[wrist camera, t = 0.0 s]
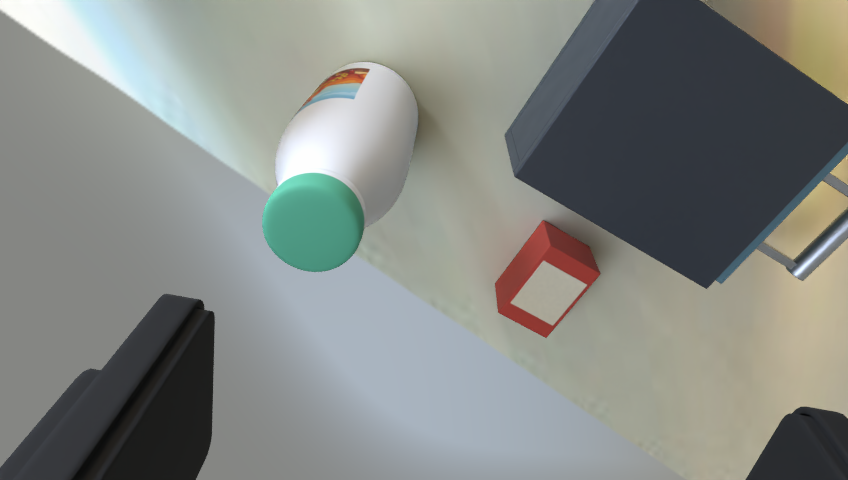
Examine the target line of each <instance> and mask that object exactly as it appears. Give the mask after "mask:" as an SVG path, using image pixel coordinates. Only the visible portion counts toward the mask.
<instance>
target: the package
mask: <svg viewBox="0 0 848 480" xmlns="http://www.w3.org/2000/svg"><path fill="white" fill-rule="evenodd" d="M600 274H601V273H600V271H599V269H598V266H597V264H596V262H595V259H594V257H593V254H592V252H591V250H590V247H589V246H587V245H585V244H584V243H582V242H580V241H578V240H577V239H575V238H573V237H571V236H570V235H568V234H566V233H565V232H563V231H561V230H559V229H558V228H556V227H554V226H552V225H551V224H549V223H547V222H545V221H544V220H543V221H542V222H541V224H540V225H539V226H538V228H537V229H536V230H535V232H534V233H533V234H532V236H531V237H530V238H529V239H528V241H527V242H526V243H525V245H524V246H523V247H522V249H521V250H520V251H519V253H518V254H517V255H516V257H515V258H514V259H513V261H512V262H511V263H510V265H509V266H508V267H507V269H506V270H505V271H504V272H503V274H502V275H501V276H500V278H499V279H498V280H497V282H496V283H495V288H496V297H497V306H498V313H500V314H502V315H504V316H506V317H507V318H509V319H511V320H513V321H515V322H517V323H519V324H521V325H523V326H524V327H526V328H528V329H530V330H532V331H534V332H536V333H538V334H540V335H541V336H543V337H545V338H547V336H548V335H549V334H550V333H551V332H552V331H553V329H554V328H555V327H556V326H557V325H558V324H559V322H560V321H561V320H562V319H563V318H564V316H565V315H566V314H567V313H568V312H569V311H570V309H571V308H572V307H573V306H574V305H575V303H576V302H577V301H578V300H579V299H580V298H581V296H582V295H583V294H584V293H585V292H586V291H587V289H588V288H589V287H590V286H591V285H592V283H593V282H594V281H595V280H596V279H597V278H598V276H599V275H600Z"/></svg>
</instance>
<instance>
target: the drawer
mask: <svg viewBox="0 0 848 480" xmlns="http://www.w3.org/2000/svg"><path fill="white" fill-rule="evenodd" d="M847 154H848V143H847V144H846V145H845V146H844V147H843V148H842V149H841V150H840V151H839V152H838V153H837V154H836V155H835V156H834V157H833V158H832V159H831V160H830V161H829V162H828V163H827V164H826V165H825V166H824V168H823V169H822V170H821V171H820V172H819V173H818V174H817V175H816V176H815V177H814V178H813V179H812V180H811V181H810V182H809V183H808V184H807V185H806V186H805V187H804V188H803V189H802V190H801V191H800V192H799V194H798V195H797V196H796V197H795V198H794V199H793V200H792V201H791V202H790V203H789V204H788V205H787V206H786V207H785V208H784V209H783V210H782V211H781V212H780V213H779V214H778V215H777V216H776V217H775V218H774V220H773V221H772V222H771V223H770V224H769V225H768V226H767V227H766V228H765V229H764V230H763V231H762V232H761V233H760V234H759V235H758V236H757V237H756V238H755V239H754V240H753V241H752V242H751V243H750V244H749V246H748V247H747V248H746V249H745V250H744V251H743V252H742V253H741V254H740V255H739V256H738V257H737V258H736V259H735V260H734V261H733V262H732V263H731V264H730V265H729V266H728V267H727V268H726V269H725V270H724V272H723V273H722V274H721V275H720V276H719V277H718V278H717V279H716V281H718V282H719V283H721V284H722V283H723V282H724V281H725V280H726V279H727V278H728V277H729V276H730V275H731V274H732V273H733V272H734V271H735V270H736V269H737V267H738V266H739V265H740V264H741V263H742V262H743V261H744V260H745V259H746V258H747V257H748V256H749V255H750V254H751V253H752V252H753V251H754V250H755V249H758V250H759V251H761V252H763V253H764V254H766V255H768V256H769V257H771V258H772V259H774V260H776V261H777V262H779V263H781V264H782V265H784V266H786V269H787V270H788V271H789V272H790V273H791V274H792V275H794V276H795V277H796V278H798V279H799V280H802V281H803V280H804V279H806V278H807V277H808V276H809V275H810V274H811V273H812V272H813V271H814V270H815V269H816V268H817V267H818V266H819V265H820V264H821V263H822V262H823V261H824V260H825V259H826V258H827V257H828V256H830V255H831V254H832V253H833V252H834V251H835V250H836V249H837V248H838V247H839V246H840V245H841V244H842V243H843V242H844V241H845V240H846V239H847V238H848V207H847V208H846V209H845V210H844V211H843V212H842V213H841V214H840V215H839V216H838V217H837V218H836V219H835V220H834V221H833V222H832V223H831V224H830V225H829V226H828V227H827V228H826V229H825V230H824V231H823V232H822V233H821V234H820V235H819V236H818V237H817V238H815V239H814V240H813V241H812V242H811V243H810V244H809V245H808V246H807V247H806V248H805V249H804V250H803V251H802V252H801V253H800V254H799V255H798V256H797V257H796V258H795V259H794V260H793V259H791V258H789V257H788V256H786V255H784V254H783V253H781V252H780V251H778V250H776V249H775V248H773V247H772V246H770V245H768V244H767V243H765V242H763V241H764V240H765V239H766V238H767V237H768V236H769V235H770V233H771V232H772V231H773V230H774V229H775V228H776V227H777V226H778V225H779V224H780V223H781V222H782V221H783V220H784V219H785V218H786V217H787V216H788V215H789V214H790V213H791V212H792V211H793V210H794V209H795V208H796V207H797V206H798V205H799V204H800V203H801V202H802V201H803V200H804V198H805V197H806V196H807V195H808V194H809V193H810V192H811V191H812V190H813V189H814V188H815V187H816V186H817V185H818V184H819V183H820V182H821V181H822V180H823V181H824V182H826V183H827V184H829V185H830V186H832V187H833V188H835V189H836V190H838V191H839V192H841V193H842V194H844V195H845V196H847V197H848V185H847V184H845V183H844V182H842V181H841V180H839V179H838V178H836V177H835V176H833V175H832V174H830V172H831V171H832V170H833V169H834V168H835V167H836V166H837V165H838V163H839V162H840V161H841V160H842V159H843V158H844V157H845V156H846V155H847Z"/></svg>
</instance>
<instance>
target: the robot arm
mask: <svg viewBox="0 0 848 480" xmlns="http://www.w3.org/2000/svg"><path fill="white" fill-rule="evenodd" d="M214 324H215V321H214V313H213V312H212V311H207V310H204V304H203V301H201V300H199V299H193V298H187V297H182V296H176V295H170V294H164V295H162V296H161V297H160V298H159V299H158V301H157V302H156V303H155V304H154V306H153V307H152V308H151V309H150V311H149V312H148V313H147V314H146V316H145V317H144V318H143V319H142V321H141V322H140V323H139V324H138V325H137V327H136V328H135V329H134V330H133V332H132V333H131V334H130V335H129V336H128V338H127V339H126V340H125V341H124V343H123V344H122V345H121V346H120V348H119V349H118V350H117V351H116V353H115V354H114V355H113V356H112V358H111V359H110V360H109V361H108V363H107V364H106V365H105V366H104V368H103V369H102V370H96V369H89V370H86V371H84V372H83V373H82V374H80V375H79V376H78V377H77V378H76V379H75V380H74V382H73V383H72V384H71V385H70V386H69V388H68V389H67V390H66V391H65V392H64V393H63V394H62V396H61V397H60V398H59V399H58V400H57V402H56V403H55V404H54V405H53V407H51V409H50V410H49V411H48V412H47V413H46V415H45V416H44V417H43V418H42V419H41V420H40V422H39V423H38V424H37V425H36V427H34V429H33V430H32V431H31V432H30V433H29V435H28V436H27V437H26V438H25V439H24V440H23V442H22V443H21V444H20V445H19V446H18V447H17V449H16V450H15V451H14V452H13V453H12V455H11V456H10V457H9V458H8V459H7V460H6V462H5V463H4V464H3V465H2V466H1V468H0V480H196V478H197V476H198V473H199V471H200V469H201V467H202V465H203V463H204V461H205V459H206V456H207V454H208V450H209V447H210V442H211V436H212V404H213V365H214V362H213V361H214ZM746 480H848V418H846V417H845V416H844V415H843V414H840V413H838V412H833V411H827V410H822V409H816V408H810V407H800V408H798V409H796V410H795V411H794V412H793V413H792V414H788V415H786V416H785V417H784V418H783V419H782V421H781V422H780V424H779V426H778V427H777V429H776V430H775V432H774V434H773V435H772V437H771V439H770V440H769V442H768V444H767V445H766V447H765V449H764V450H763V452H762V454H761V455H760V457H759V459H758V460H757V462H756V463H755V465H754V467H753V468H752V470H751V472H750V473H749V475H748V477H747V478H746Z"/></svg>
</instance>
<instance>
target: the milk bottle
mask: <svg viewBox="0 0 848 480" xmlns="http://www.w3.org/2000/svg"><path fill="white" fill-rule="evenodd" d="M417 127H418V107H417V102H416V99H415V97H414V94H413V92H412V90H411V88H410V87H409V86H408V84H407V83H406V82H405V80H404V79H403V78H402V77H401V76H399V75H398V74H397V73H396V72H394V71H393V70H391V69H389V68H387V67H385V66H383V65H380V64H376V63H371V62H356V63H351V64H348V65H345V66H343V67H341V68H339V69H337V70H336V71H334V72H333V73H332V74H331V75H330V76H328V77H327V78H326V79H325V80H324V81H323V83H322V84H321V85H320V86H319V87H318V88H317V89H316V90H315V92H314V93H313V94H312V95H311V96H310V97H309V98H308V100H307V101H306V102H305V103H304V104H303V106H302V107H301V108H300V109H299V110H298V112H297V113H296V114H295V116H294V117H293V118H292V120H291V121H290V123H289V124H288V126H287V127H286V129H285V131H284V132H283V135H282V137H281V139H280V142H279V145H278V148H277V153H276V160H275V174H276V181H277V185H278V187H277V188H276V190H275V191H274V192H273V193H272V195H271V196H270V198H269V200H268V202H267V204H266V206H265V208H264V212H263V219H262V226H263V232H264V236H265V239H266V241H267V243H268V245H269V247H270V248H271V249H272V251H273V252H274V253H275V254H276V255H277V256H278V257H279V258H280V259H281V260H283V261H284V262H285V263H287V264H289V265H291V266H293V267H295V268H297V269H301V270H304V271H311V272H322V271H328V270H331V269H334V268H336V267H339V266H340V265H342V264H343V263H345V262H346V261H347V260H348V259H349V258H350V257H351V256H352V255H353V254H354V253H355V251H356V250H357V248H358V246H359V243H360V241H361V238H362V235H363V230H364V228H365V227H368V226H369V225H371V224H373V223H374V222H376V221H378V220H379V219H380V218H381V217H383V216H384V215H385V214H386V213H387V212H388V211H389V210H390V208H391V207H392V206H393V205H394V203H395V202H396V200H397V198H398V197H399V195H400V193H401V191H402V189H403V186H404V183H405V180H406V177H407V174H408V170H409V166H410V162H411V157H412V152H413V147H414V143H415V138H416V132H417Z"/></svg>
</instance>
